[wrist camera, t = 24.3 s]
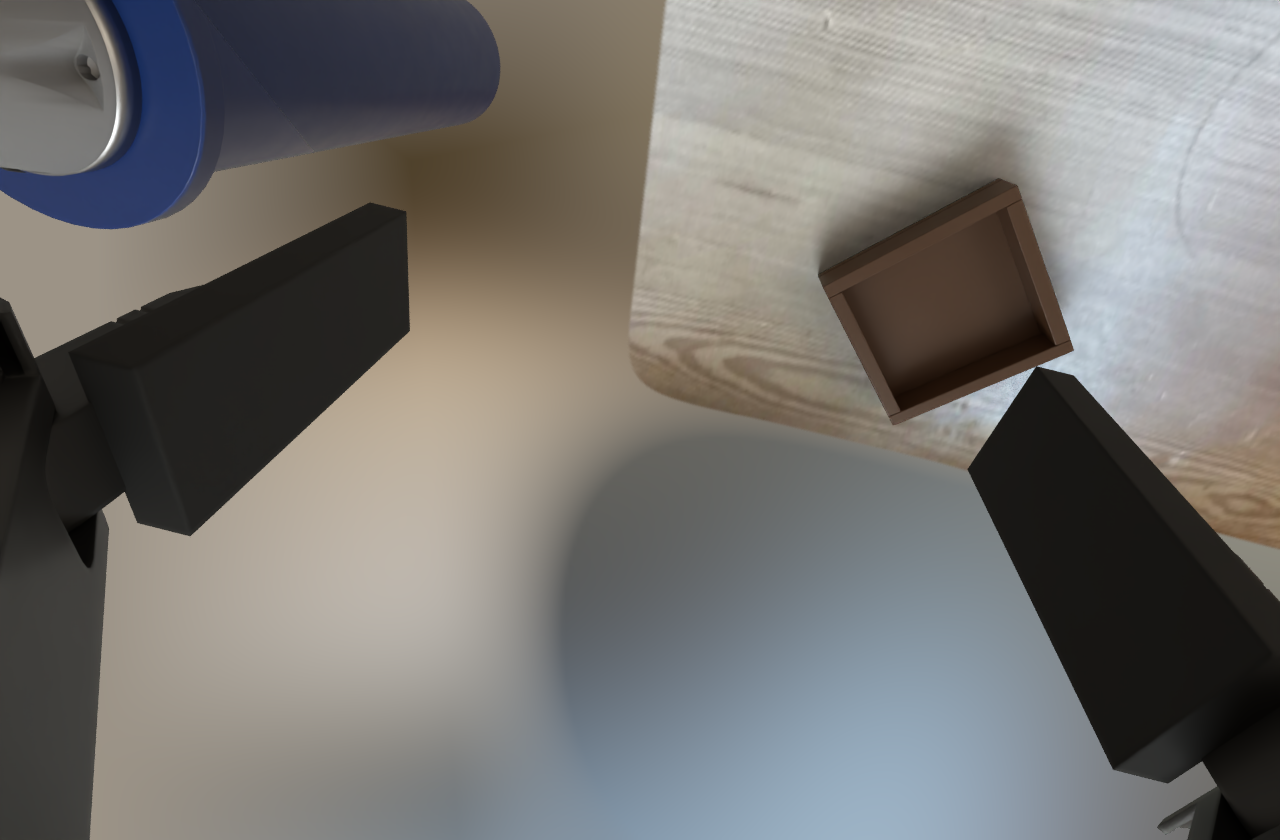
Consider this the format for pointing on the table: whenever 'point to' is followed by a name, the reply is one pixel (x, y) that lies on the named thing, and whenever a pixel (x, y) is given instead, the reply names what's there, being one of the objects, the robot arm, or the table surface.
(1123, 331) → the table surface
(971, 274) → the tray
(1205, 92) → the table surface
